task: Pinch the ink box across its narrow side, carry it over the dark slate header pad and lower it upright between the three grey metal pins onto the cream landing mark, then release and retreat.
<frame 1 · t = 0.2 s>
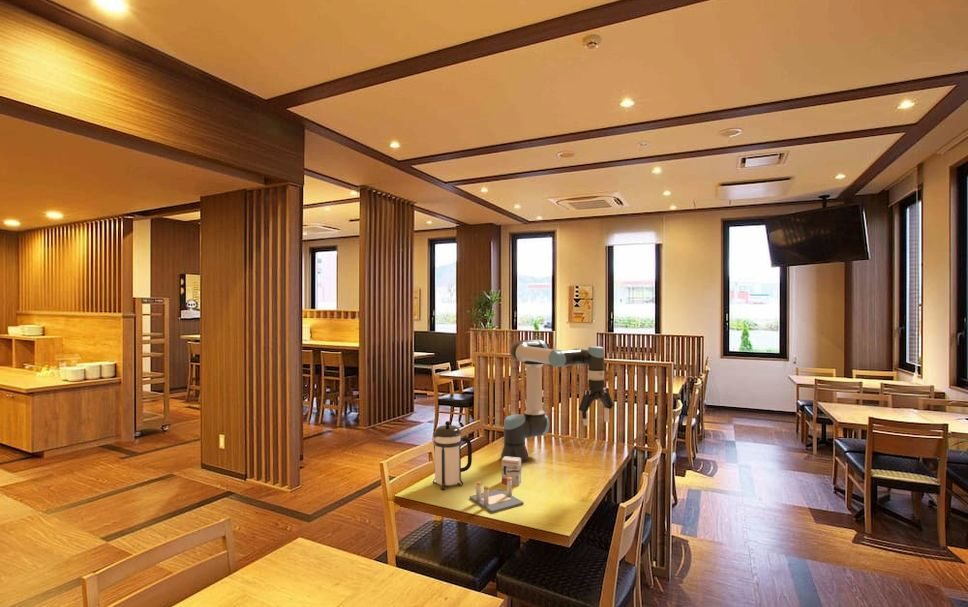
hand: (596, 423, 233), 28 cm above the table, fingers open, 13 cm apart
header pad: (496, 501, 210), on the table
ink box: (511, 483, 232), on the table
coffee press: (450, 484, 231), on the table
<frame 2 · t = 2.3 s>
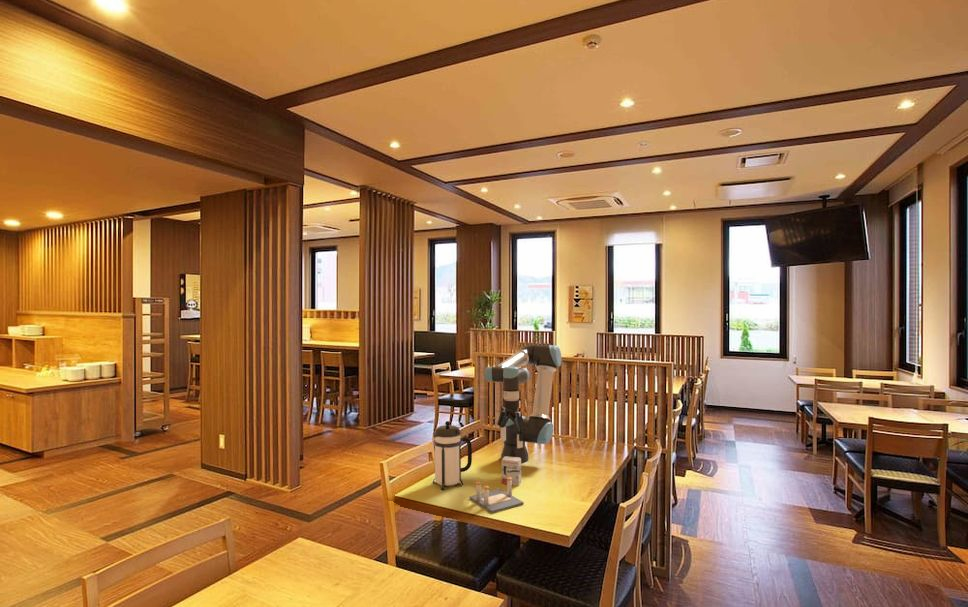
hand: (511, 444, 232), 18 cm above the table, fingers open, 13 cm apart
nothing on the table moved.
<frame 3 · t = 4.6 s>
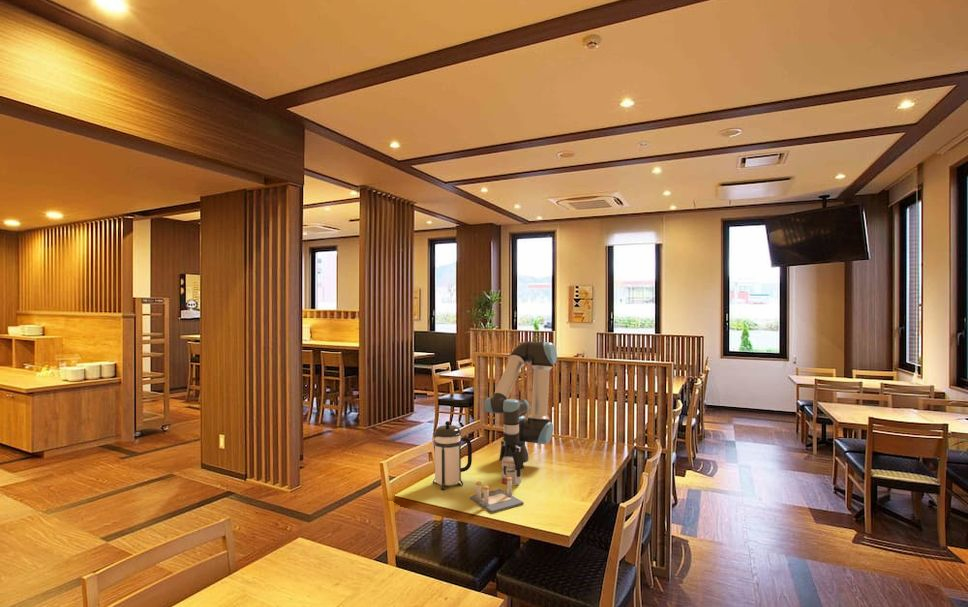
hand: (511, 479, 232), 2 cm above the table, fingers closed on ink box, 9 cm apart
ink box: (511, 483, 232), on the table, touching gripper
everything else where it was.
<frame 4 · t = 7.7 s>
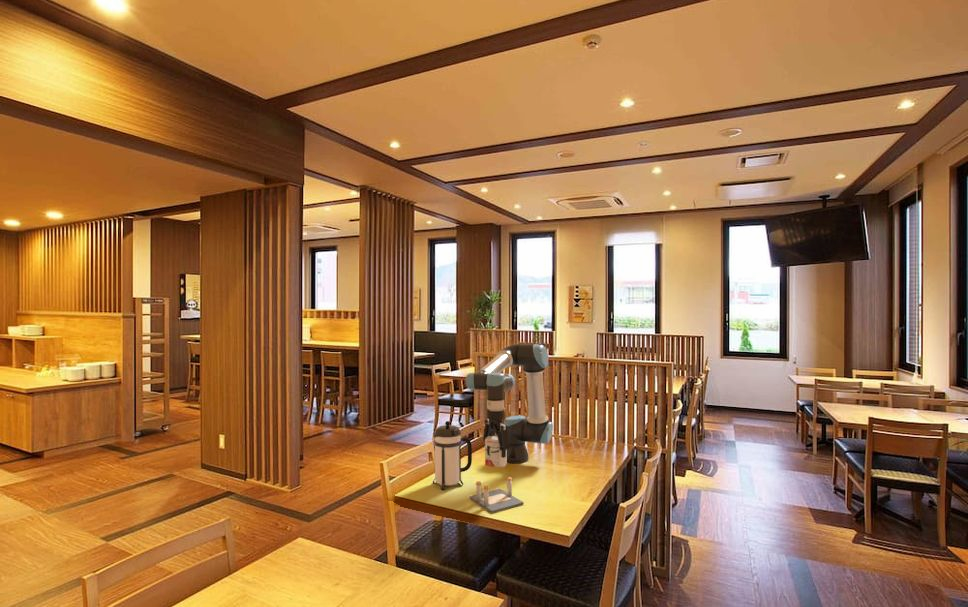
hand: (495, 461, 210), 17 cm above the table, fingers closed on ink box, 9 cm apart
ink box: (495, 465, 210), point 16 cm above the table, touching gripper
everything else where it was.
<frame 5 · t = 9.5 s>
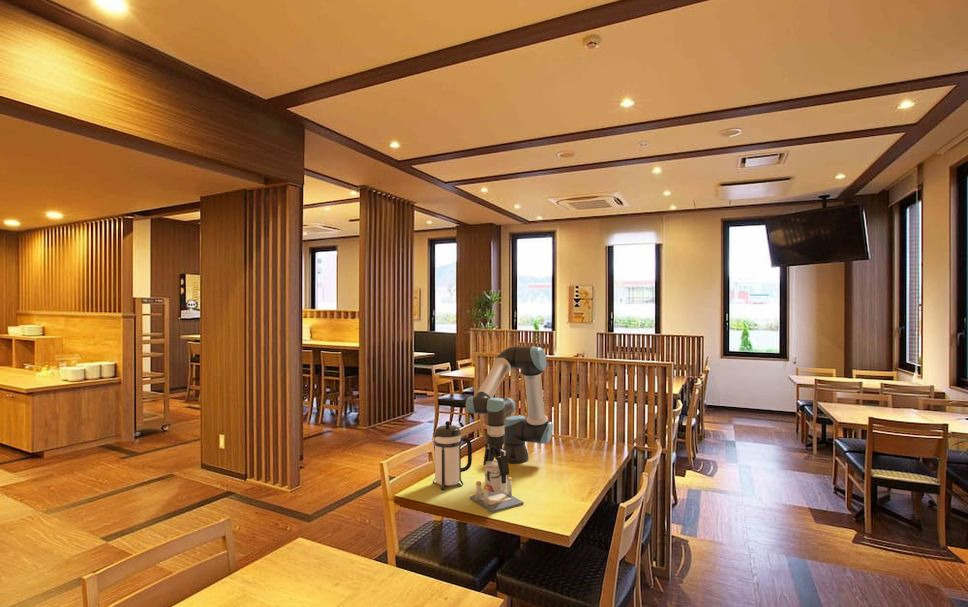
hand: (496, 486, 210), 6 cm above the table, fingers closed on ink box, 9 cm apart
ink box: (495, 490, 210), point 5 cm above the table, touching gripper
everything else where it was.
when the fingers open (4 cm above the table, at t = 11.0 s): ink box drops 1 cm, resting on header pad.
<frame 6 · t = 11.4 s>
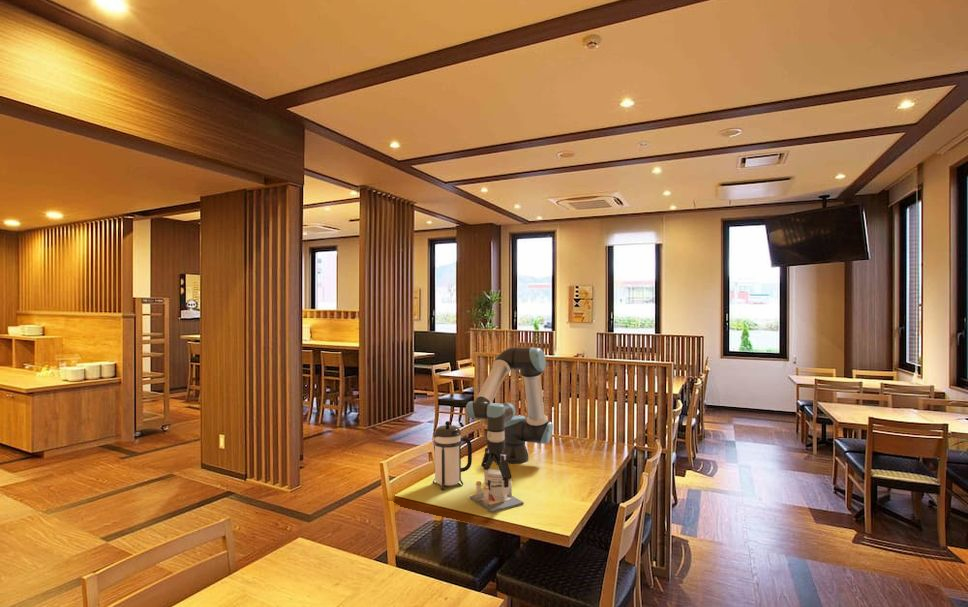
hand: (496, 489, 210), 5 cm above the table, fingers open, 13 cm apart
ink box: (496, 499, 210), point 1 cm above the table, touching header pad
everything else where it was.
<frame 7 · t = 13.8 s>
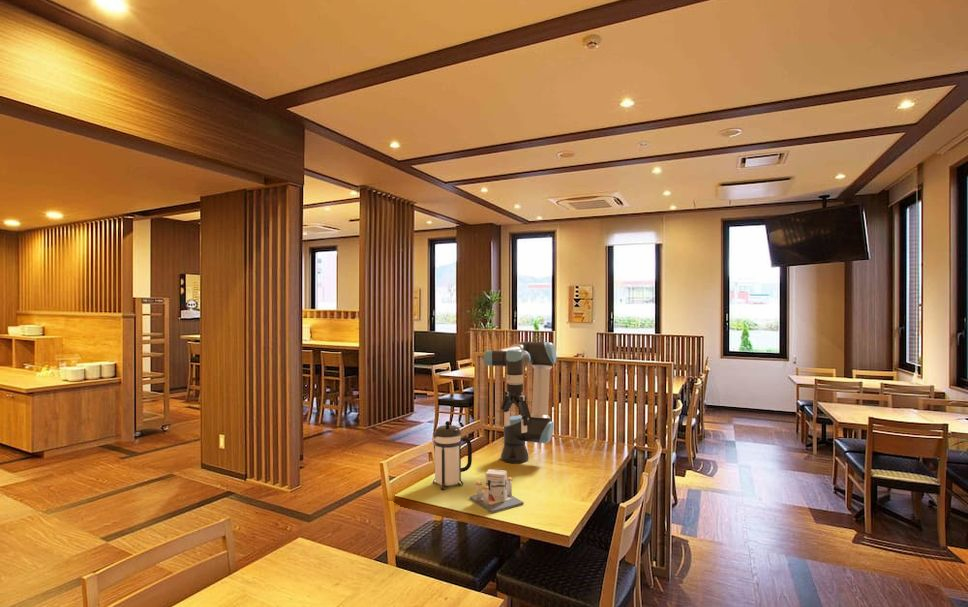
hand: (515, 428, 226), 27 cm above the table, fingers open, 13 cm apart
nothing on the table moved.
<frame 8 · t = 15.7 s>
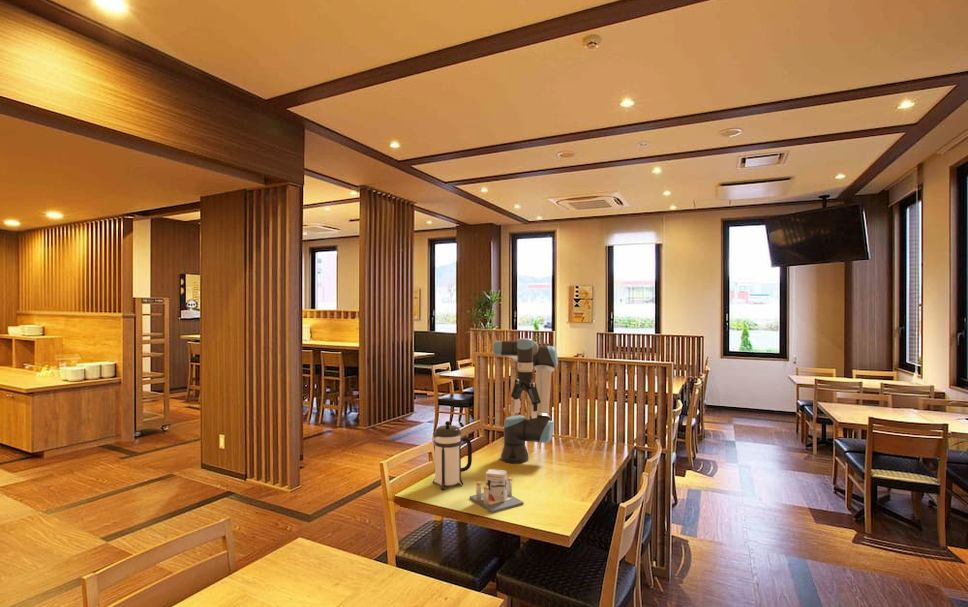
hand: (525, 415, 234), 32 cm above the table, fingers open, 13 cm apart
nothing on the table moved.
at the end: ink box inside the target area on the header pad (0.2 cm from its centre), point 0.9 cm above the header pad's base; ink box tilted 0°; the gripper is holding nothing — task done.
